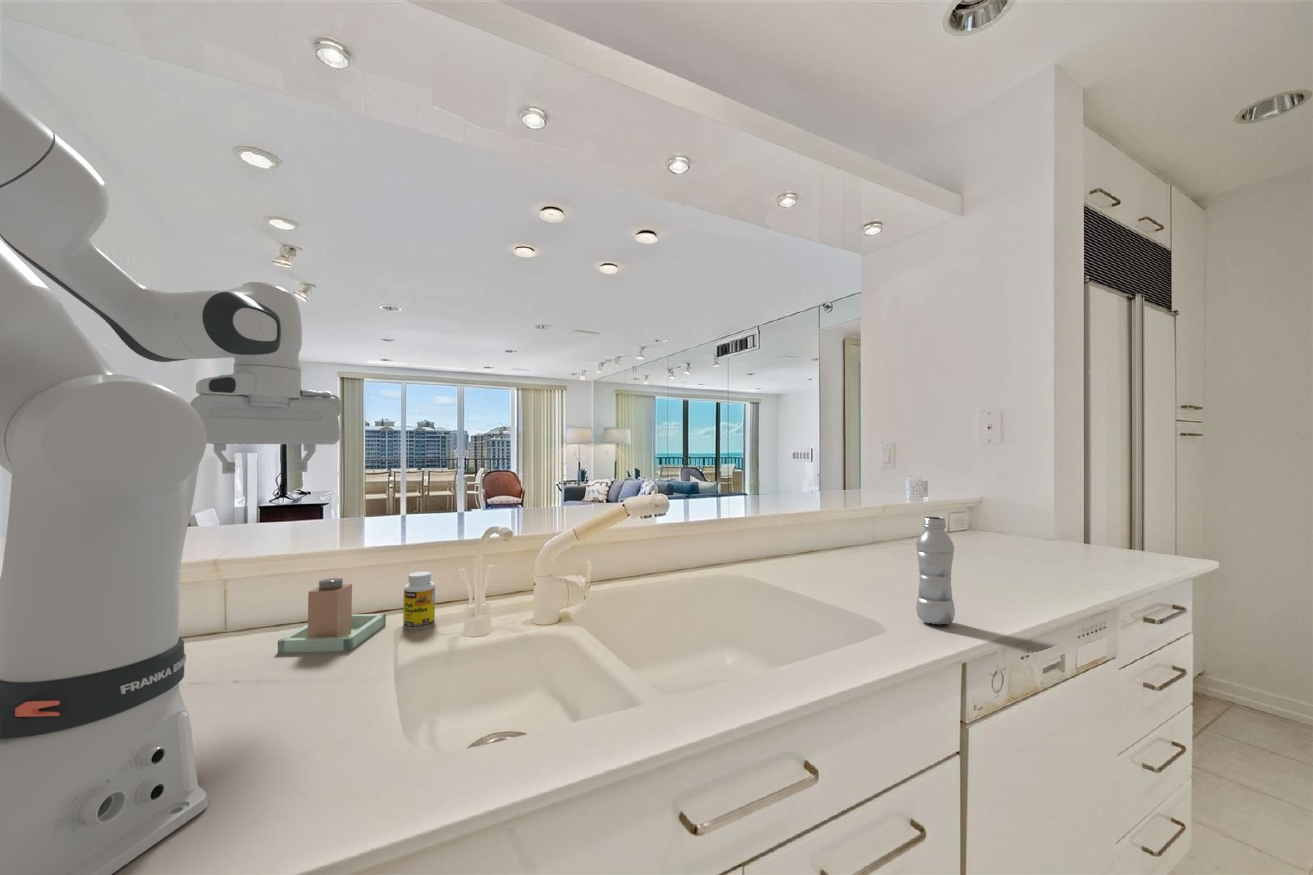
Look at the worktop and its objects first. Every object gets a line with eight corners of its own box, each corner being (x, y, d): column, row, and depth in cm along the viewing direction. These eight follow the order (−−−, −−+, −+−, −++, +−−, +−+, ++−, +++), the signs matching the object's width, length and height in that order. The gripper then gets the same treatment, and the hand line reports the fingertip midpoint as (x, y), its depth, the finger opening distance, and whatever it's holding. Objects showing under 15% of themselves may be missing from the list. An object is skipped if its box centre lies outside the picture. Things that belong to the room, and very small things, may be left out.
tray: (349, 654, 84) (350, 639, 84) (277, 656, 83) (277, 640, 83) (385, 627, 97) (385, 613, 97) (323, 628, 96) (323, 615, 96)
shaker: (336, 646, 86) (337, 583, 86) (307, 647, 85) (308, 584, 86) (351, 636, 90) (352, 577, 90) (323, 637, 90) (324, 577, 90)
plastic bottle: (908, 621, 101) (907, 516, 101) (932, 616, 104) (931, 515, 104) (938, 631, 95) (937, 520, 96) (963, 626, 98) (962, 519, 98)
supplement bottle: (398, 632, 94) (399, 577, 94) (408, 622, 99) (409, 570, 100) (430, 631, 95) (430, 576, 95) (438, 621, 100) (438, 570, 100)
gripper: (337, 393, 94) (335, 470, 94) (184, 383, 80) (181, 473, 80) (345, 390, 90) (344, 471, 89) (185, 379, 76) (182, 475, 75)
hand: (266, 472), depth 84 cm, fingers open, 8 cm apart
